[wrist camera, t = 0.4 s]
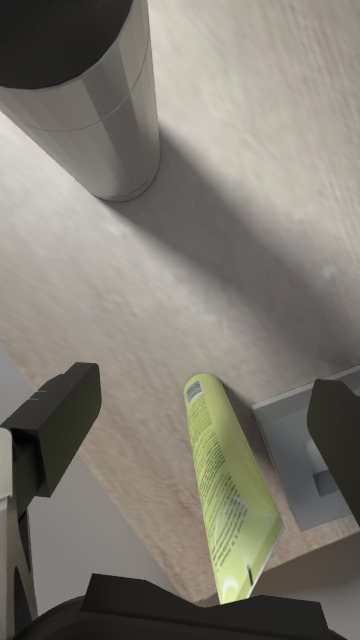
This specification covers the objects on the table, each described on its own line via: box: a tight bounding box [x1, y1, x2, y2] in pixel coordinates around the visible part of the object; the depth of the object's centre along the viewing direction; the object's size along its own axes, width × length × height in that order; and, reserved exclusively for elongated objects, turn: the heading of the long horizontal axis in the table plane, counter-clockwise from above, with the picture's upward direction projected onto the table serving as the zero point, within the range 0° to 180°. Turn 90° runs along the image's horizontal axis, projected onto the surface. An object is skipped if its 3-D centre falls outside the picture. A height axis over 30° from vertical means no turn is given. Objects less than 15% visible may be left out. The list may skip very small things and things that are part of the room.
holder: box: [251, 365, 360, 532], centre depth 31 cm, size 16×16×4 cm
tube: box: [184, 374, 285, 605], centre depth 22 cm, size 6×5×20 cm
